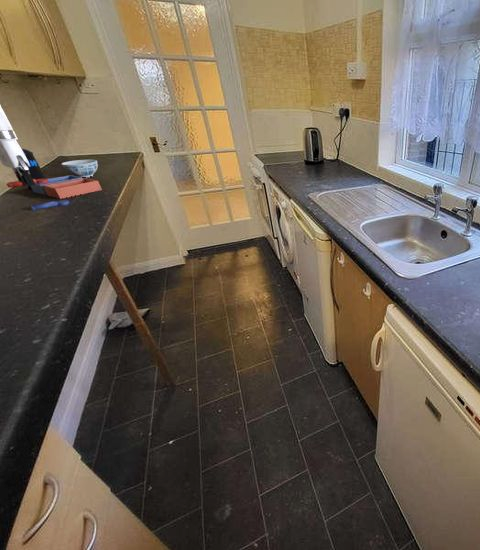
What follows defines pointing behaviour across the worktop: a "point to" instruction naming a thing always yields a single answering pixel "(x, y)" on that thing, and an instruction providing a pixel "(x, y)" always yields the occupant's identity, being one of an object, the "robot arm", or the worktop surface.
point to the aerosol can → (33, 166)
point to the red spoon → (20, 183)
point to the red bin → (72, 188)
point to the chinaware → (81, 167)
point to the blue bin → (40, 189)
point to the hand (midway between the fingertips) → (28, 184)
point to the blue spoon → (49, 204)
